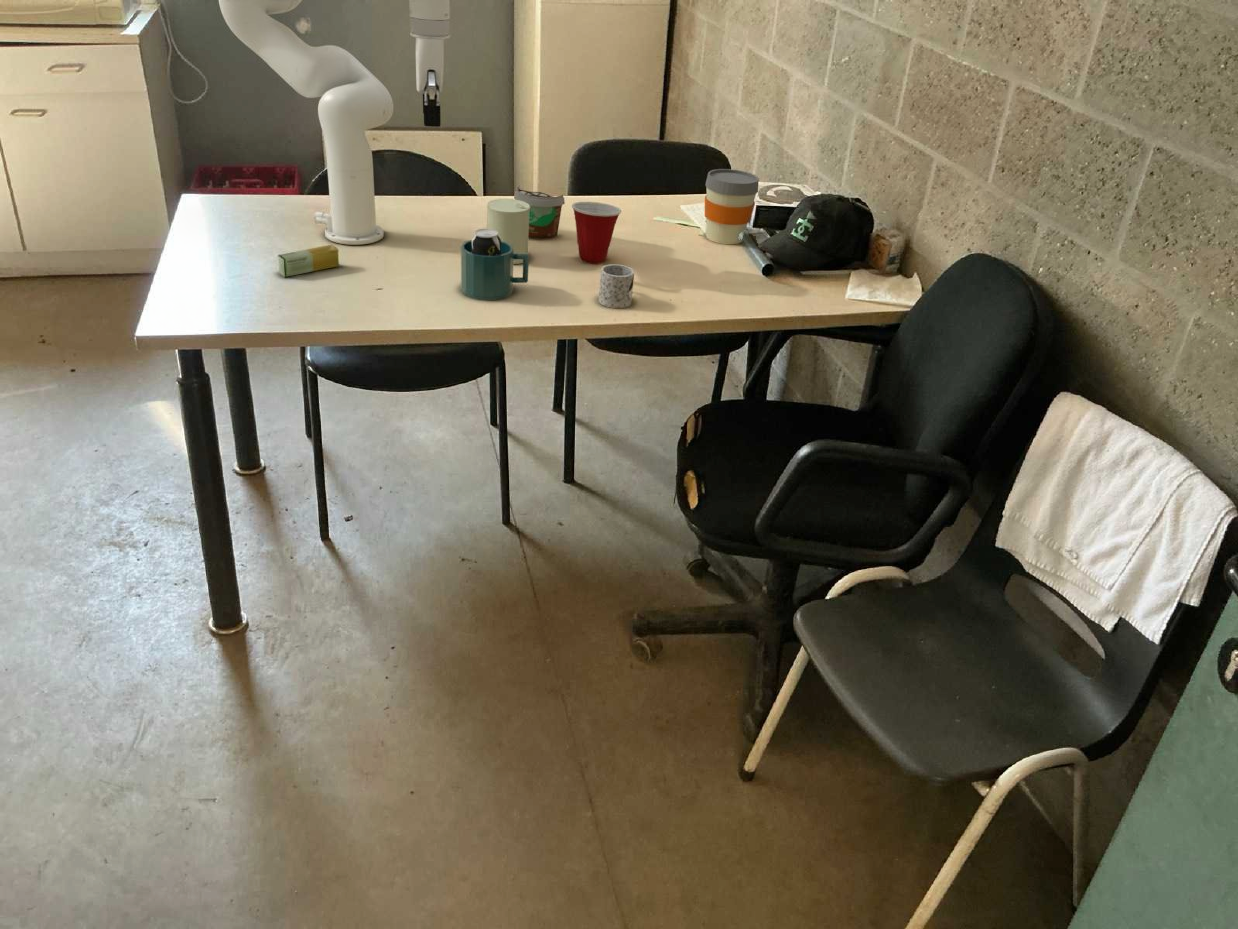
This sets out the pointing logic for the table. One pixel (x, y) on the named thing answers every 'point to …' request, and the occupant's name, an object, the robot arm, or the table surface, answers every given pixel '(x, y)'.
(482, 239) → the beverage can
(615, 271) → the mug
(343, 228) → the robot arm
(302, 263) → the medication box
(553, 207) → the food container
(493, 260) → the mug
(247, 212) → the table surface
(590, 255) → the plastic cup
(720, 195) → the reusable coffee cup
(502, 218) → the can
